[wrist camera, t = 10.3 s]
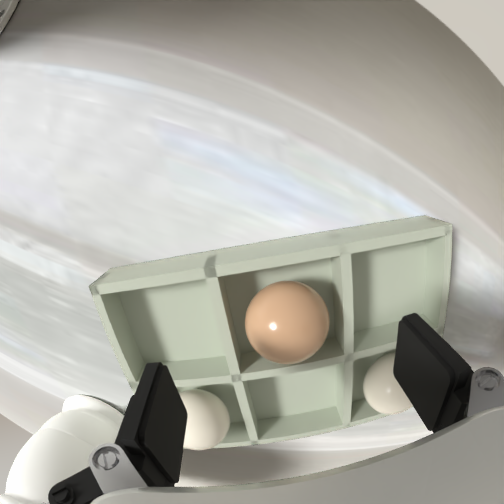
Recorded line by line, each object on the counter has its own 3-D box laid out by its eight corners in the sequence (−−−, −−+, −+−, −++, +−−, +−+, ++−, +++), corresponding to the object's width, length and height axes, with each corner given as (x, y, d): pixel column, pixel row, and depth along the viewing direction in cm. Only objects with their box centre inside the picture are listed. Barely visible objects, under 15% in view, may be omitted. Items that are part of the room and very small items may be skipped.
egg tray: (110, 268, 18) (88, 286, 15) (424, 215, 18) (452, 224, 14) (172, 422, 22) (165, 448, 19) (412, 379, 22) (427, 400, 18)
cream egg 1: (162, 378, 19) (147, 422, 15) (223, 373, 19) (219, 420, 15) (181, 418, 21) (172, 461, 16) (236, 415, 20) (235, 460, 16)
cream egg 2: (355, 349, 19) (378, 390, 15) (411, 333, 19) (441, 368, 14) (354, 393, 20) (372, 434, 16) (404, 378, 20) (428, 414, 16)
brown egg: (238, 275, 17) (236, 312, 13) (315, 262, 17) (338, 294, 13) (251, 340, 19) (253, 387, 14) (321, 328, 18) (340, 371, 14)
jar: (49, 369, 21) (-31, 481, 6) (150, 406, 21) (105, 558, 7) (65, 433, 23) (19, 527, 9) (148, 463, 24) (122, 574, 10)
